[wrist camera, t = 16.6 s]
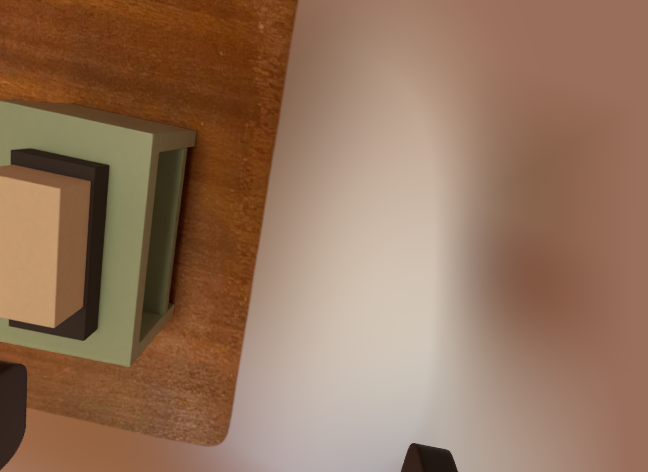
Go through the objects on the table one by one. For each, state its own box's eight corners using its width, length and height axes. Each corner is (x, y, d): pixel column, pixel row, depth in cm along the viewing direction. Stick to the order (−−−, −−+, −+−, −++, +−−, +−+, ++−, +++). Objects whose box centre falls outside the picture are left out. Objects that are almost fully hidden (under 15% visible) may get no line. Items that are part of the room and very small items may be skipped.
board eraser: (30, 147, 31) (-33, 153, 26) (109, 164, 31) (64, 173, 26) (26, 315, 35) (-29, 349, 30) (97, 329, 35) (55, 366, 30)
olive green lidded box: (72, 104, 40) (-11, 98, 30) (196, 131, 40) (153, 133, 31) (63, 293, 45) (-10, 339, 36) (173, 315, 46) (129, 367, 36)
